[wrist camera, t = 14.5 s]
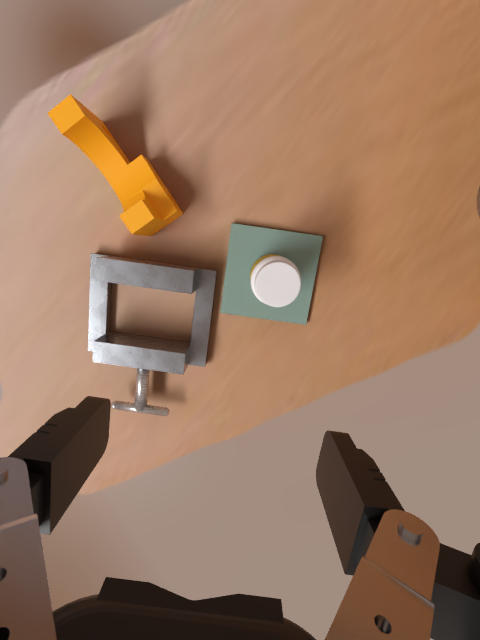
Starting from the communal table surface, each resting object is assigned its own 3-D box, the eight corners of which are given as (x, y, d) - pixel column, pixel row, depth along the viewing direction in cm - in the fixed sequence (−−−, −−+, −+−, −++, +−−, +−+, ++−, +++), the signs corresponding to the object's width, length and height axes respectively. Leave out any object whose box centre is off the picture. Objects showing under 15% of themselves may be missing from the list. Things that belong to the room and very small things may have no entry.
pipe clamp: (183, 213, 35) (169, 207, 29) (152, 236, 36) (132, 234, 30) (116, 112, 33) (86, 81, 27) (84, 137, 34) (47, 113, 28)
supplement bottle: (241, 276, 36) (238, 285, 28) (270, 244, 35) (277, 244, 27) (271, 304, 37) (278, 322, 28) (301, 274, 36) (317, 283, 28)
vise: (217, 270, 36) (213, 273, 33) (200, 411, 41) (195, 429, 37) (95, 253, 36) (76, 254, 33) (90, 396, 41) (73, 412, 37)
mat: (321, 236, 35) (323, 236, 35) (305, 323, 38) (306, 324, 37) (232, 223, 35) (231, 223, 35) (220, 311, 38) (220, 312, 37)
